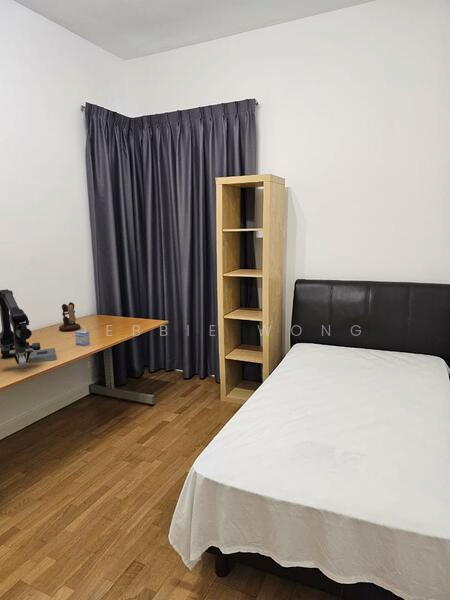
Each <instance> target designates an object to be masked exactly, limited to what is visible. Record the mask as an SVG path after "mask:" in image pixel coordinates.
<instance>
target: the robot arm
mask: <svg viewBox="0 0 450 600" xmlns="http://www.w3.org/2000/svg"><path fill="white" fill-rule="evenodd" d="M0 321H1V322H0V323H1V324H0V326H1V331H0V355H1V359H8V358H9V359H10V358H14V360H15V362H16V364H17V365H19V364H18V354H16V353H21V352H26V350H27V353H26V360H27V364H29V356H30V353H31V352H33V351H35V350H42V349H41V343H40V342H34V343H33V342H32V343H31V344H30V342H29V341H27V340H29V339H30V338H31V337H32V335H33V334H32V331H31V330H30V329H29V328H28V326H30V320H29V317H28V315H27V314H26V313H25V312H24V309H21V308H20V307H19V305H18V303H17V302H16V300H15V297H14V293H13V290H10V289H0Z"/></svg>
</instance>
